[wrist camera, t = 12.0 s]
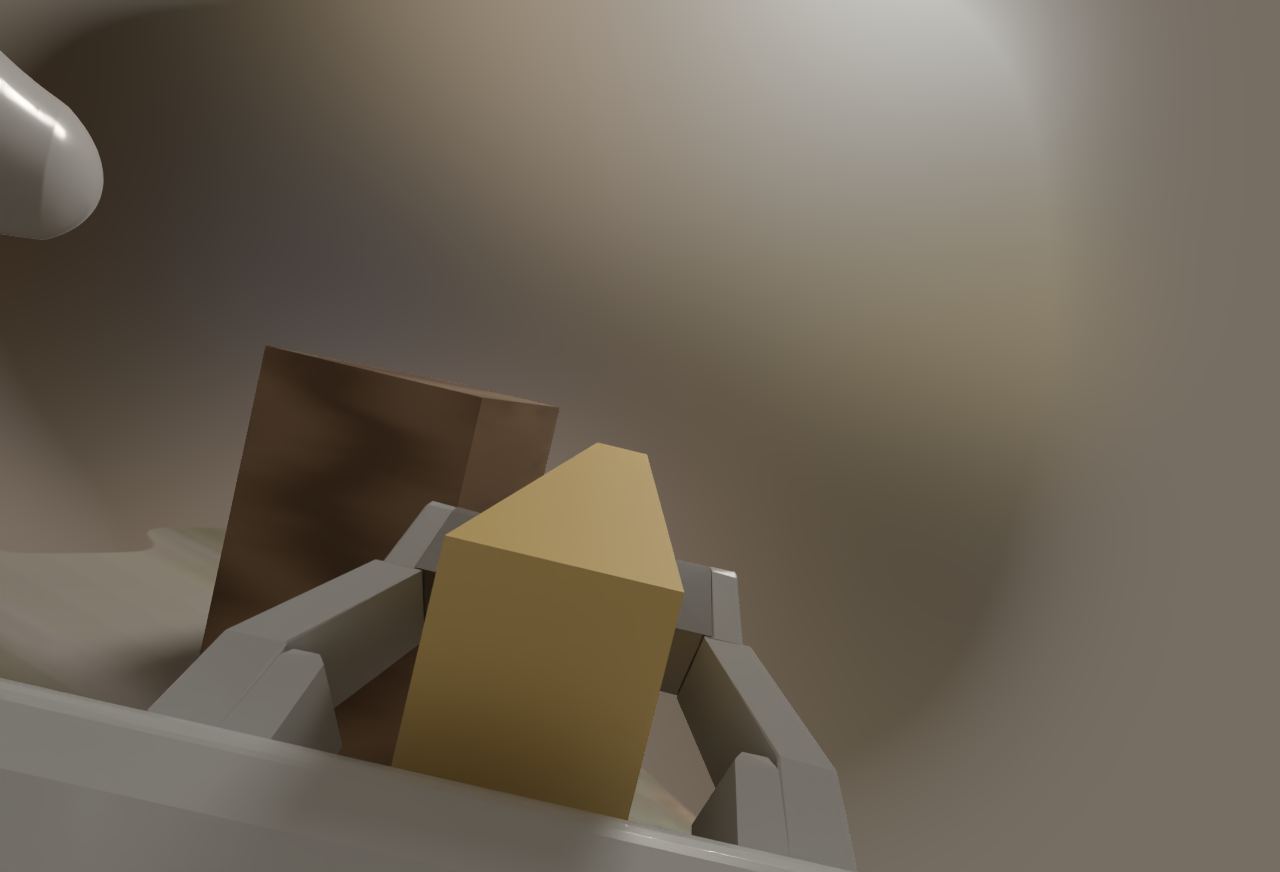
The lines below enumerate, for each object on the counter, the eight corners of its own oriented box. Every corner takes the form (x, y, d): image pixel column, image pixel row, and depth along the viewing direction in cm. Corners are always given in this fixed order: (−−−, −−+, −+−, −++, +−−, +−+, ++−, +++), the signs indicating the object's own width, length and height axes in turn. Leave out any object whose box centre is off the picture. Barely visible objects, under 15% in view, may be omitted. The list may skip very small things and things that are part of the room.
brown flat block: (104, 1105, 16) (265, 345, 15) (366, 766, 32) (453, 381, 31) (310, 1149, 17) (482, 397, 16) (470, 789, 32) (559, 407, 32)
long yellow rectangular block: (389, 769, 6) (444, 534, 6) (585, 491, 29) (597, 442, 29) (626, 824, 6) (684, 592, 6) (634, 503, 29) (646, 454, 29)
